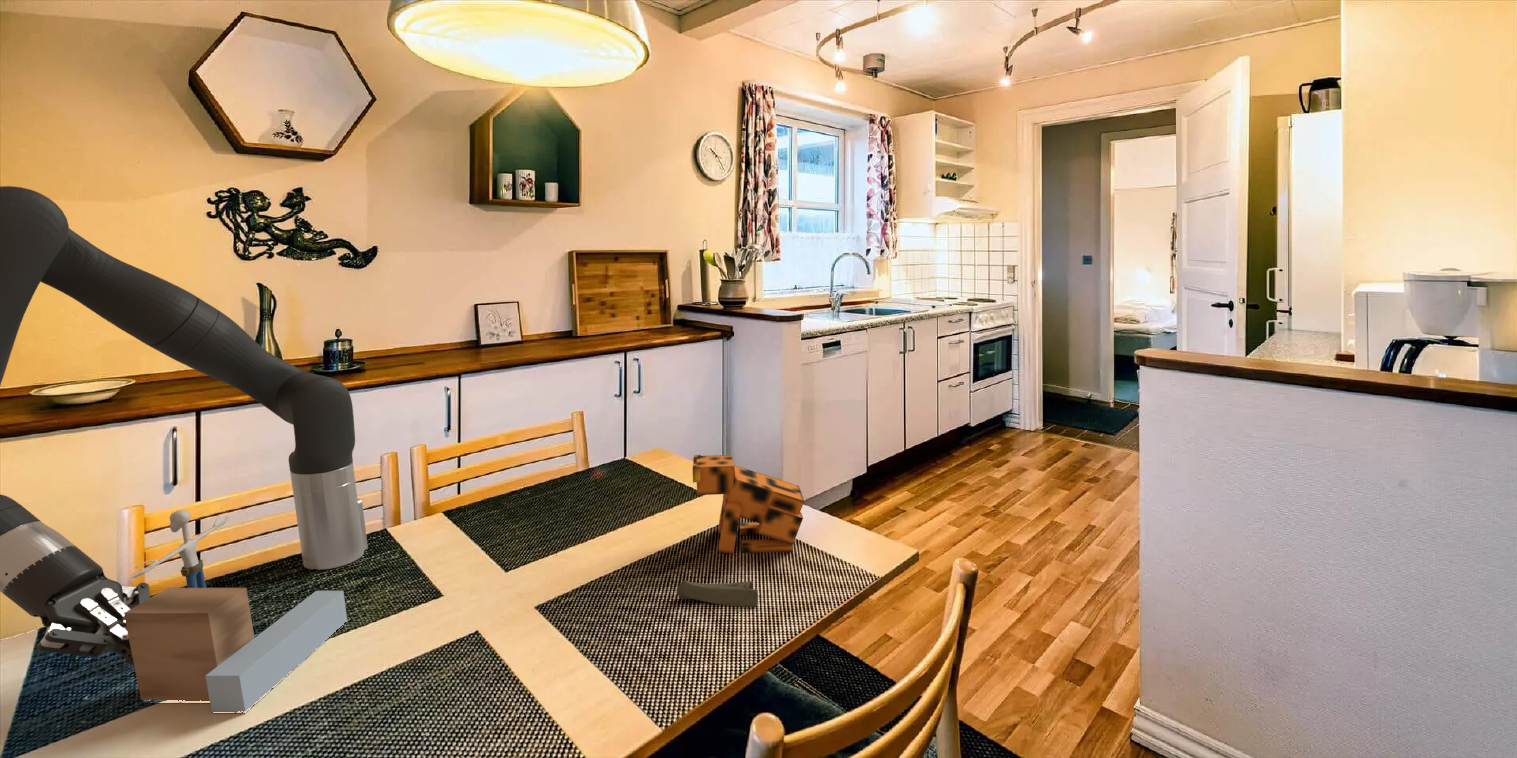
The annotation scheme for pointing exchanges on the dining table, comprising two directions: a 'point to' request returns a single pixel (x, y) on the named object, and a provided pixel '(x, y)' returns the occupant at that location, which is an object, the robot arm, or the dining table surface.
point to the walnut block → (186, 639)
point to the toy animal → (750, 504)
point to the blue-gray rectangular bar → (275, 652)
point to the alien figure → (185, 550)
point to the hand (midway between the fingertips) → (154, 660)
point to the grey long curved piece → (720, 593)
